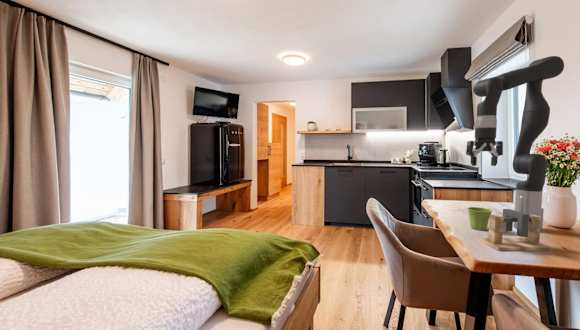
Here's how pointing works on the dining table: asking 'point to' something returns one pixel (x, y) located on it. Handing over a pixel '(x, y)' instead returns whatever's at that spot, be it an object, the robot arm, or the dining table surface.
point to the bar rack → (514, 243)
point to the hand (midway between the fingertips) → (483, 165)
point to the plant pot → (479, 217)
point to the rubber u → (521, 222)
